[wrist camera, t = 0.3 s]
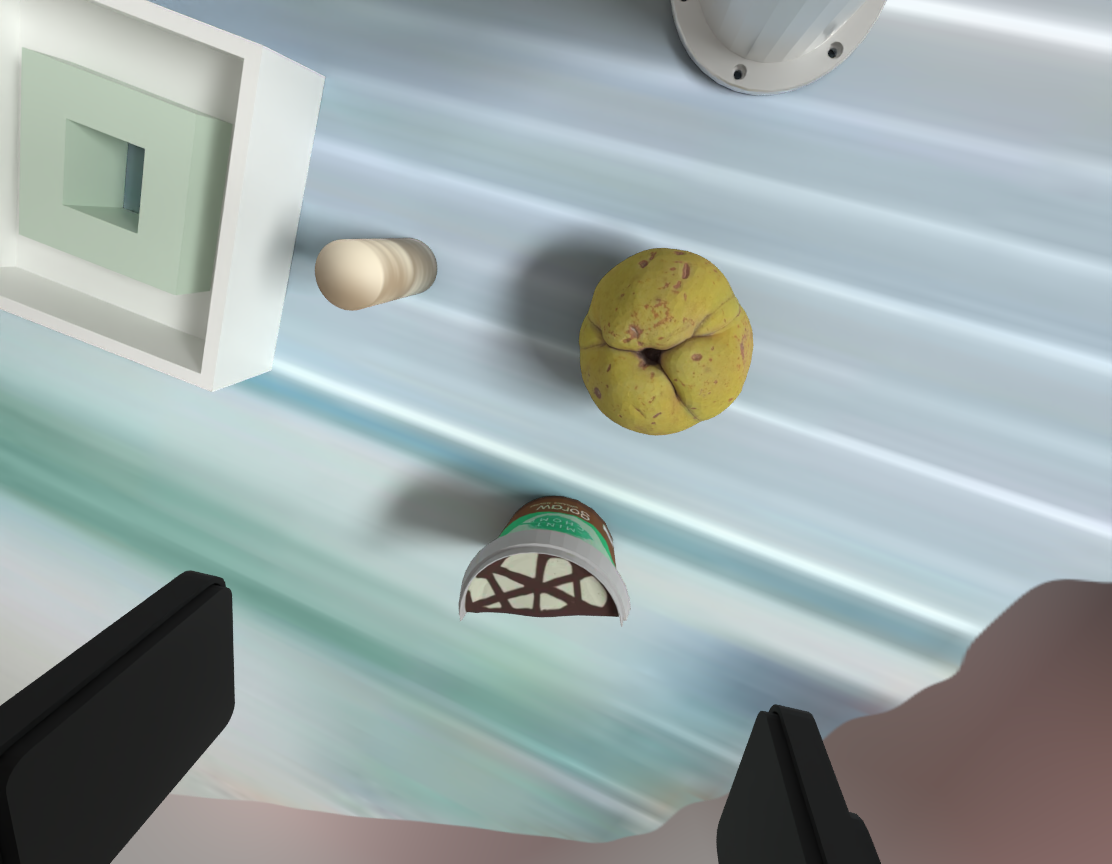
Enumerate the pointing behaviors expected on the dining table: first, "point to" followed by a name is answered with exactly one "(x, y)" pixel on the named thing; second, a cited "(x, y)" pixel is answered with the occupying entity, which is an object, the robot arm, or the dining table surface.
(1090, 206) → the dining table surface
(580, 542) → the food container
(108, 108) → the box
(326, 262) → the peg
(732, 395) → the fruit
